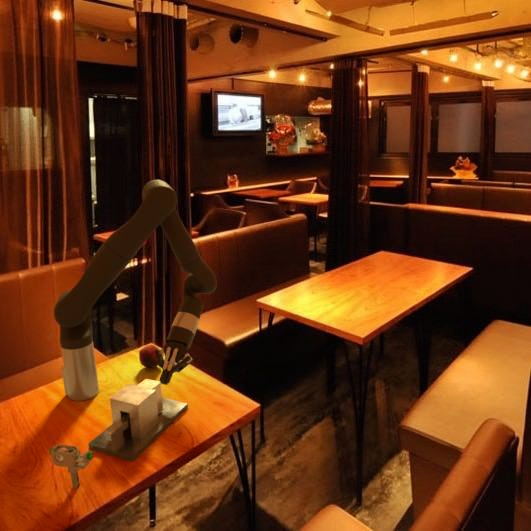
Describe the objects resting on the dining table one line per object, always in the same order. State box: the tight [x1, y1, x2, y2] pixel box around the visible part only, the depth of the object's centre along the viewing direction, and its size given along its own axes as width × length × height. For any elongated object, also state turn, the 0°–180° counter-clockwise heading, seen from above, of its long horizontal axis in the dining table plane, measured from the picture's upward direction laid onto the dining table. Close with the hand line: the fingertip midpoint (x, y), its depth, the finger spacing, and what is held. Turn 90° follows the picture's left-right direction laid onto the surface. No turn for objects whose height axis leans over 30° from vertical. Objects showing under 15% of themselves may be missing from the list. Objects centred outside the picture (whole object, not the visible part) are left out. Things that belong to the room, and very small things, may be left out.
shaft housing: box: [87, 383, 189, 463], centre depth 137 cm, size 14×26×12 cm, turn 157°
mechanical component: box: [48, 443, 94, 489], centre depth 115 cm, size 3×10×10 cm, turn 78°
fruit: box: [138, 344, 160, 370], centre depth 171 cm, size 8×8×8 cm
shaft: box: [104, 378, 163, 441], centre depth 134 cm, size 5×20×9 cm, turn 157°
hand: (163, 383), depth 147 cm, fingers closed
